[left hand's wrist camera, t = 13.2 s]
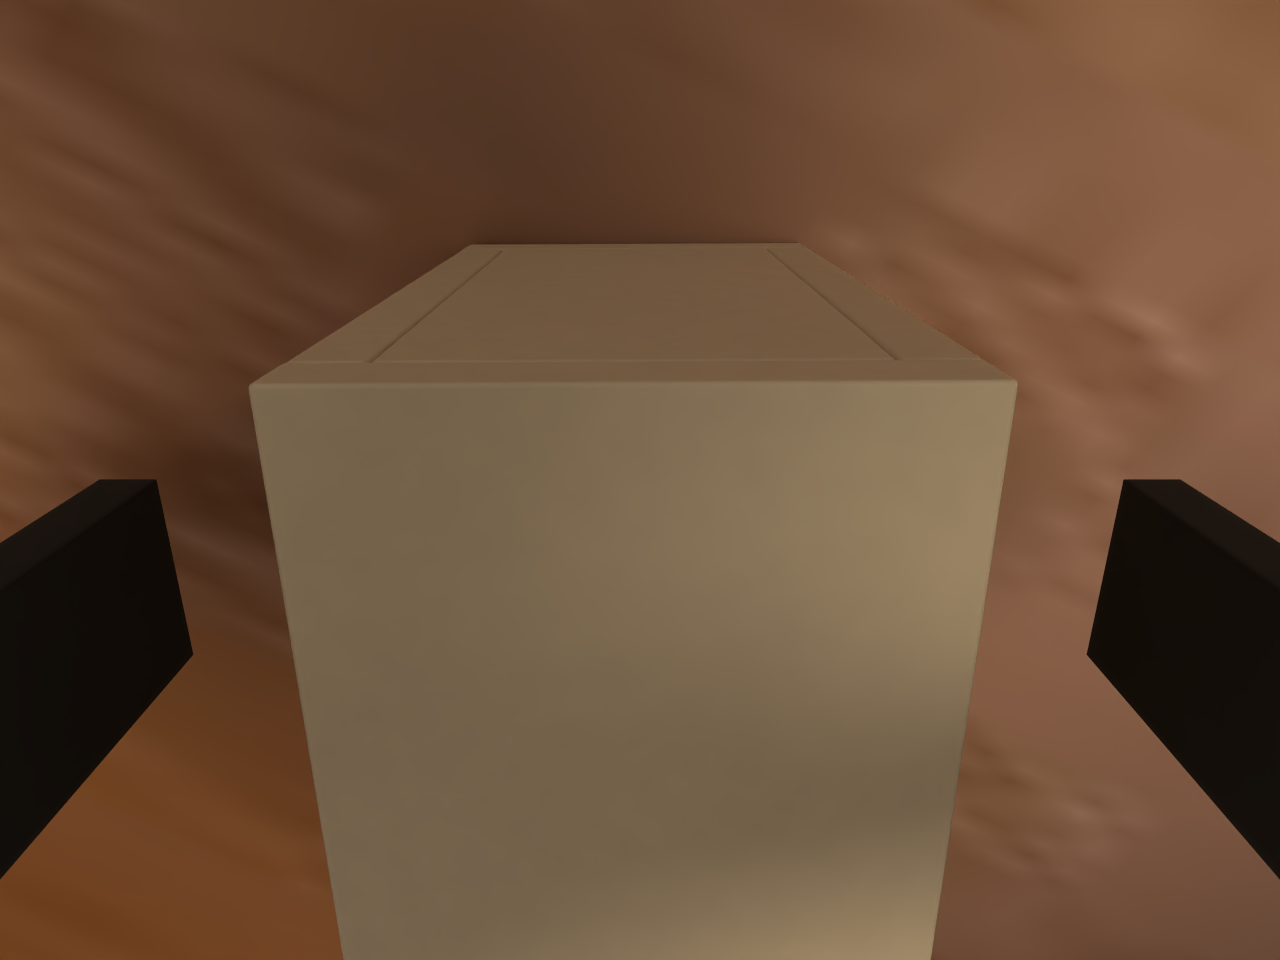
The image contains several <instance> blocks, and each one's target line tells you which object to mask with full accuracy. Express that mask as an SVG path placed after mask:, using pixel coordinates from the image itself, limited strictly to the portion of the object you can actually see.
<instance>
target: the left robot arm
mask: <svg viewBox="0 0 1280 960" xmlns="http://www.w3.org/2000/svg"><path fill="white" fill-rule="evenodd" d="M192 655H193V651H192V646H191V642H190V637H189V632H188V627H187V623H186V618H185V613H184V609H183V604H182V599H181V594H180V590H179V585H178V580H177V575H176V571H175V566H174V561H173V556H172V552H171V547H170V542H169V537H168V533H167V528H166V523H165V518H164V514H163V509H162V504H161V499H160V495H159V490H158V485H157V481H156V480H98V481H97V482H95V483H94V484H92V485H90V486H89V487H87V488H86V489H84V490H83V491H81V492H80V493H78V494H76V495H75V496H73V497H72V498H70V499H69V500H67V501H65V502H64V503H62V504H61V505H59V506H58V507H56V508H54V509H53V510H51V511H50V512H48V513H47V514H45V515H43V516H42V517H40V518H39V519H37V520H36V521H34V522H33V523H31V524H29V525H28V526H26V527H25V528H23V529H22V530H20V531H18V532H17V533H15V534H14V535H12V536H11V537H9V538H7V539H6V540H4V541H3V542H1V543H0V879H1V878H2V877H3V875H4V874H5V873H6V872H7V871H8V870H9V868H10V867H11V866H12V865H13V864H14V863H15V861H16V860H17V859H18V858H19V857H20V856H21V855H22V853H23V852H24V851H25V850H26V849H27V848H28V846H29V845H30V844H31V843H32V842H33V841H34V839H35V838H36V837H37V836H38V835H39V834H40V832H41V831H42V830H43V829H44V828H45V827H46V825H47V824H48V823H49V822H50V821H51V820H52V818H53V817H54V816H55V815H56V814H57V813H58V811H59V810H60V809H61V808H62V807H63V806H64V804H65V803H66V802H67V801H68V800H69V799H70V797H71V796H72V795H73V794H74V793H75V792H76V790H77V789H78V788H79V787H80V786H81V785H82V784H83V782H84V781H85V780H86V779H87V778H88V777H89V775H90V774H91V773H92V772H93V771H94V770H95V768H96V767H97V766H98V765H99V764H100V763H101V761H102V760H103V759H104V758H105V757H106V756H107V754H108V753H109V752H110V751H111V750H112V749H113V747H114V746H115V745H116V744H117V743H118V742H119V740H120V739H121V738H122V737H123V736H124V735H125V733H126V732H127V731H128V730H129V729H130V728H131V726H132V725H133V724H134V723H135V722H136V721H137V719H138V718H139V717H140V716H141V715H142V714H143V713H144V711H145V710H146V709H147V708H148V707H149V706H150V704H151V703H152V702H153V701H154V700H155V699H156V697H157V696H158V695H159V694H160V693H161V692H162V690H163V689H164V688H165V687H166V686H167V685H168V683H169V682H170V681H171V680H172V679H173V678H174V676H175V675H176V674H177V673H178V672H179V671H180V669H181V668H182V667H183V666H184V665H185V664H186V662H187V661H188V660H189V659H190V658H191V657H192ZM1087 655H1088V657H1089V658H1090V659H1091V660H1092V661H1093V662H1094V664H1095V665H1096V666H1097V667H1098V668H1099V669H1100V671H1101V672H1102V673H1103V674H1104V675H1105V676H1106V678H1107V679H1108V680H1109V681H1110V682H1111V683H1112V685H1113V686H1114V687H1115V688H1116V689H1117V690H1118V692H1119V693H1120V694H1121V695H1122V696H1123V697H1124V699H1125V700H1126V701H1127V702H1128V703H1129V704H1130V706H1131V707H1132V708H1133V709H1134V710H1135V711H1136V713H1137V714H1138V715H1139V716H1140V717H1141V718H1142V719H1143V721H1144V722H1145V723H1146V724H1147V725H1148V726H1149V728H1150V729H1151V730H1152V731H1153V732H1154V733H1155V735H1156V736H1157V737H1158V738H1159V739H1160V740H1161V742H1162V743H1163V744H1164V745H1165V746H1166V747H1167V749H1168V750H1169V751H1170V752H1171V753H1172V754H1173V756H1174V757H1175V758H1176V759H1177V760H1178V761H1179V763H1180V764H1181V765H1182V766H1183V767H1184V768H1185V770H1186V771H1187V772H1188V773H1189V774H1190V775H1191V777H1192V778H1193V779H1194V780H1195V781H1196V782H1197V784H1198V785H1199V786H1200V787H1201V788H1202V789H1203V790H1204V792H1205V793H1206V794H1207V795H1208V796H1209V797H1210V799H1211V800H1212V801H1213V802H1214V803H1215V804H1216V806H1217V807H1218V808H1219V809H1220V810H1221V811H1222V813H1223V814H1224V815H1225V816H1226V817H1227V818H1228V820H1229V821H1230V822H1231V823H1232V824H1233V825H1234V827H1235V828H1236V829H1237V830H1238V831H1239V832H1240V834H1241V835H1242V836H1243V837H1244V838H1245V839H1246V841H1247V842H1248V843H1249V844H1250V845H1251V846H1252V848H1253V849H1254V850H1255V851H1256V852H1257V853H1258V855H1259V856H1260V857H1261V858H1262V859H1263V860H1264V861H1265V863H1266V864H1267V865H1268V866H1269V867H1270V868H1271V870H1272V871H1273V872H1274V873H1275V874H1276V875H1277V877H1278V878H1279V879H1280V543H1279V542H1277V541H1276V540H1274V539H1273V538H1271V537H1269V536H1268V535H1266V534H1265V533H1263V532H1262V531H1260V530H1258V529H1257V528H1255V527H1254V526H1252V525H1251V524H1249V523H1247V522H1246V521H1244V520H1243V519H1241V518H1240V517H1238V516H1237V515H1235V514H1233V513H1232V512H1230V511H1229V510H1227V509H1226V508H1224V507H1222V506H1221V505H1219V504H1218V503H1216V502H1215V501H1213V500H1211V499H1210V498H1208V497H1207V496H1205V495H1204V494H1202V493H1200V492H1199V491H1197V490H1196V489H1194V488H1193V487H1191V486H1190V485H1188V484H1186V483H1185V482H1183V481H1182V480H1124V481H1123V485H1122V490H1121V495H1120V499H1119V504H1118V509H1117V514H1116V518H1115V523H1114V528H1113V533H1112V537H1111V542H1110V547H1109V552H1108V556H1107V561H1106V566H1105V571H1104V575H1103V580H1102V585H1101V590H1100V594H1099V599H1098V604H1097V609H1096V613H1095V618H1094V623H1093V627H1092V632H1091V637H1090V642H1089V646H1088V651H1087Z"/></svg>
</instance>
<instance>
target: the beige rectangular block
mask: <svg viewBox="0 0 1280 960" xmlns="http://www.w3.org/2000/svg"><path fill="white" fill-rule="evenodd" d="M1017 388H1018V384H1017V380H1015V379H1013V378H1012V377H1010V376H1009V375H1007V374H1006V373H1004V372H1002V371H1001V370H999V369H998V368H996V367H995V366H993V365H991V364H990V363H988V362H987V361H984V360H982V359H981V358H980V357H978V356H977V355H975V354H973V353H972V352H970V351H969V350H967V349H966V348H964V347H962V346H961V345H959V344H958V343H956V342H955V341H953V340H951V339H950V338H948V337H947V336H945V335H944V334H942V333H940V332H939V331H937V330H936V329H934V328H933V327H931V326H929V325H928V324H926V323H925V322H923V321H922V320H920V319H918V318H917V317H915V316H914V315H912V314H911V313H909V312H907V311H906V310H904V309H903V308H901V307H900V306H898V305H896V304H895V303H893V302H892V301H890V300H889V299H887V298H885V297H884V296H882V295H881V294H879V293H878V292H876V291H874V290H873V289H871V288H870V287H868V286H867V285H865V284H863V283H862V282H860V281H859V280H857V279H856V278H854V277H852V276H851V275H849V274H848V273H846V272H845V271H843V270H841V269H840V268H838V267H837V266H835V265H834V264H832V263H830V262H829V261H827V260H826V259H824V258H823V257H821V256H819V255H818V254H816V253H815V252H813V251H812V250H810V249H808V248H807V247H805V246H804V245H802V244H800V243H684V244H474V245H469V246H467V247H466V248H464V249H463V250H462V251H460V252H459V253H457V254H455V255H454V256H452V257H451V258H449V259H448V260H446V261H444V262H443V263H441V264H440V265H438V266H437V267H435V268H434V269H432V270H430V271H429V272H427V273H426V274H424V275H423V276H421V277H419V278H418V279H416V280H415V281H413V282H412V283H410V284H408V285H407V286H405V287H404V288H402V289H401V290H399V291H397V292H396V293H394V294H393V295H391V296H390V297H388V298H387V299H385V300H383V301H382V302H380V303H379V304H377V305H376V306H374V307H372V308H371V309H369V310H368V311H366V312H365V313H363V314H361V315H360V316H358V317H357V318H355V319H354V320H352V321H350V322H349V323H347V324H346V325H344V326H343V327H341V328H340V329H338V330H336V331H335V332H333V333H332V334H330V335H329V336H327V337H325V338H324V339H322V340H321V341H319V342H318V343H316V344H314V345H313V346H311V347H310V348H308V349H307V350H305V351H303V352H302V353H300V354H299V355H297V356H296V357H294V358H293V359H291V360H289V361H288V362H286V363H284V364H282V365H280V366H278V367H276V368H275V369H273V370H272V371H270V372H269V373H267V374H265V375H264V376H262V377H261V378H259V379H258V380H256V381H254V382H253V383H251V384H250V385H249V395H250V401H251V407H252V413H253V419H254V425H255V431H256V437H257V443H258V449H259V455H260V461H261V467H262V473H263V479H264V485H265V491H266V497H267V503H268V509H269V515H270V521H271V527H272V533H273V539H274V545H275V551H276V557H277V563H278V569H279V575H280V581H281V587H282V593H283V599H284V605H285V611H286V617H287V623H288V629H289V635H290V641H291V647H292V653H293V659H294V665H295V671H296V677H297V683H298V689H299V695H300V701H301V707H302V713H303V719H304V725H305V731H306V737H307V743H308V749H309V755H310V761H311V767H312V773H313V779H314V785H315V791H316V797H317V803H318V809H319V815H320V821H321V827H322V833H323V839H324V845H325V851H326V857H327V863H328V869H329V875H330V881H331V887H332V893H333V899H334V905H335V911H336V917H337V923H338V929H339V935H340V941H341V947H342V953H343V959H344V960H931V953H932V947H933V940H934V934H935V927H936V921H937V914H938V907H939V901H940V894H941V888H942V881H943V874H944V868H945V861H946V855H947V848H948V842H949V835H950V828H951V822H952V815H953V809H954V802H955V796H956V789H957V782H958V776H959V769H960V763H961V756H962V749H963V743H964V736H965V730H966V723H967V717H968V710H969V703H970V697H971V690H972V684H973V677H974V671H975V664H976V657H977V651H978V644H979V638H980V631H981V624H982V618H983V611H984V605H985V598H986V592H987V585H988V578H989V572H990V565H991V559H992V552H993V546H994V539H995V532H996V526H997V519H998V513H999V506H1000V499H1001V493H1002V486H1003V480H1004V473H1005V467H1006V460H1007V453H1008V447H1009V440H1010V434H1011V427H1012V421H1013V414H1014V407H1015V401H1016V394H1017Z"/></svg>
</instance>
